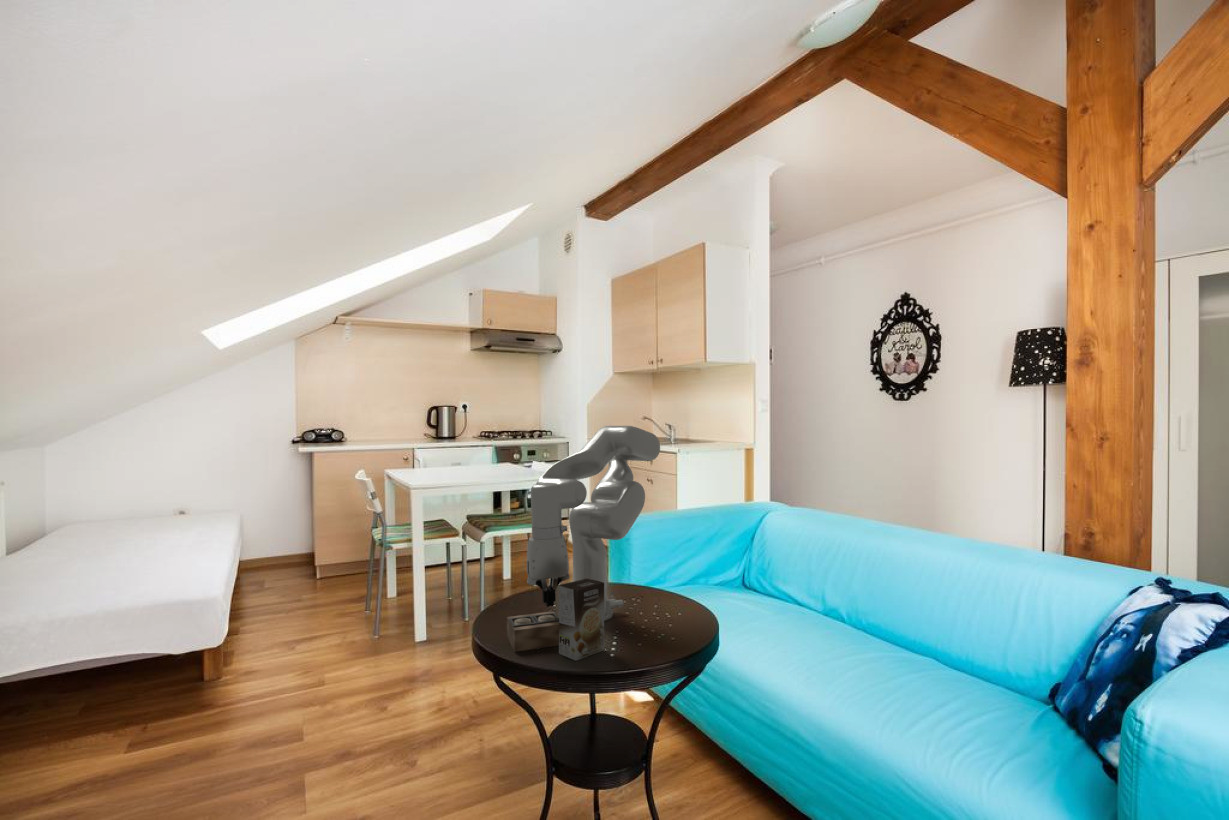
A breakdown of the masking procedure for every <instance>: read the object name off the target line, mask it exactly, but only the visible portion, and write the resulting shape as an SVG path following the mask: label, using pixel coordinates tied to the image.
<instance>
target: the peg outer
mask: <svg viewBox="0 0 1229 820" xmlns="http://www.w3.org/2000/svg"><path fill="white" fill-rule="evenodd" d="M527 623H531V620H530V619H528V618H520V619H517V620H515V625H519V624H527Z"/></svg>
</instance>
